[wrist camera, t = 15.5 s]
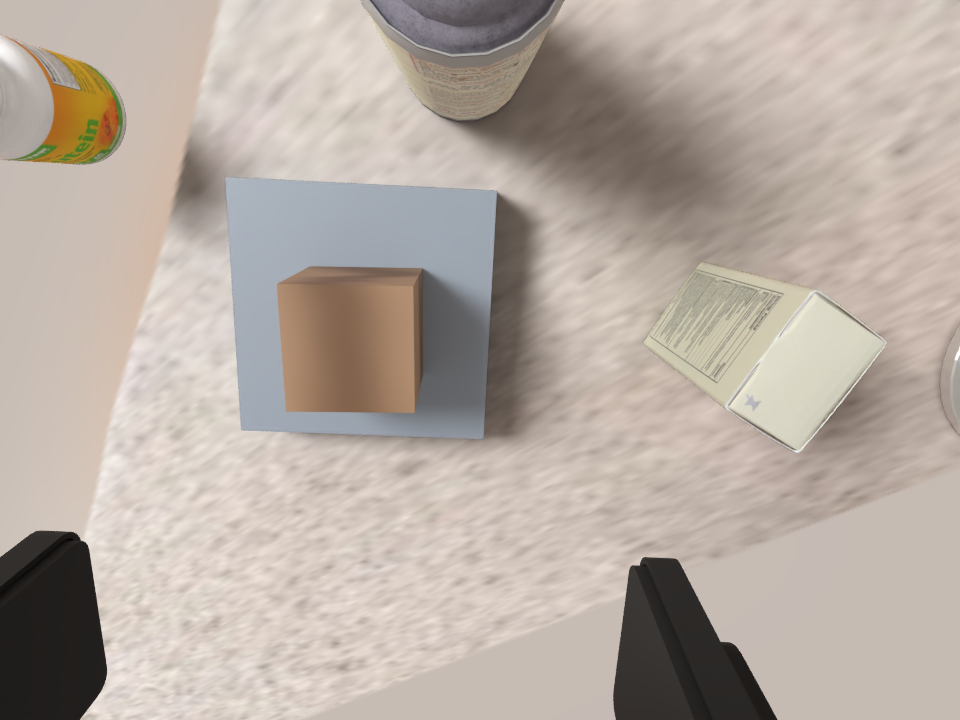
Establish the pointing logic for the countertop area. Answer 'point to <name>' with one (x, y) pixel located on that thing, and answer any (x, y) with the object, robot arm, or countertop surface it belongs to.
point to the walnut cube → (352, 339)
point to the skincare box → (765, 349)
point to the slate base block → (365, 243)
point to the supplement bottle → (55, 107)
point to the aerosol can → (463, 49)
